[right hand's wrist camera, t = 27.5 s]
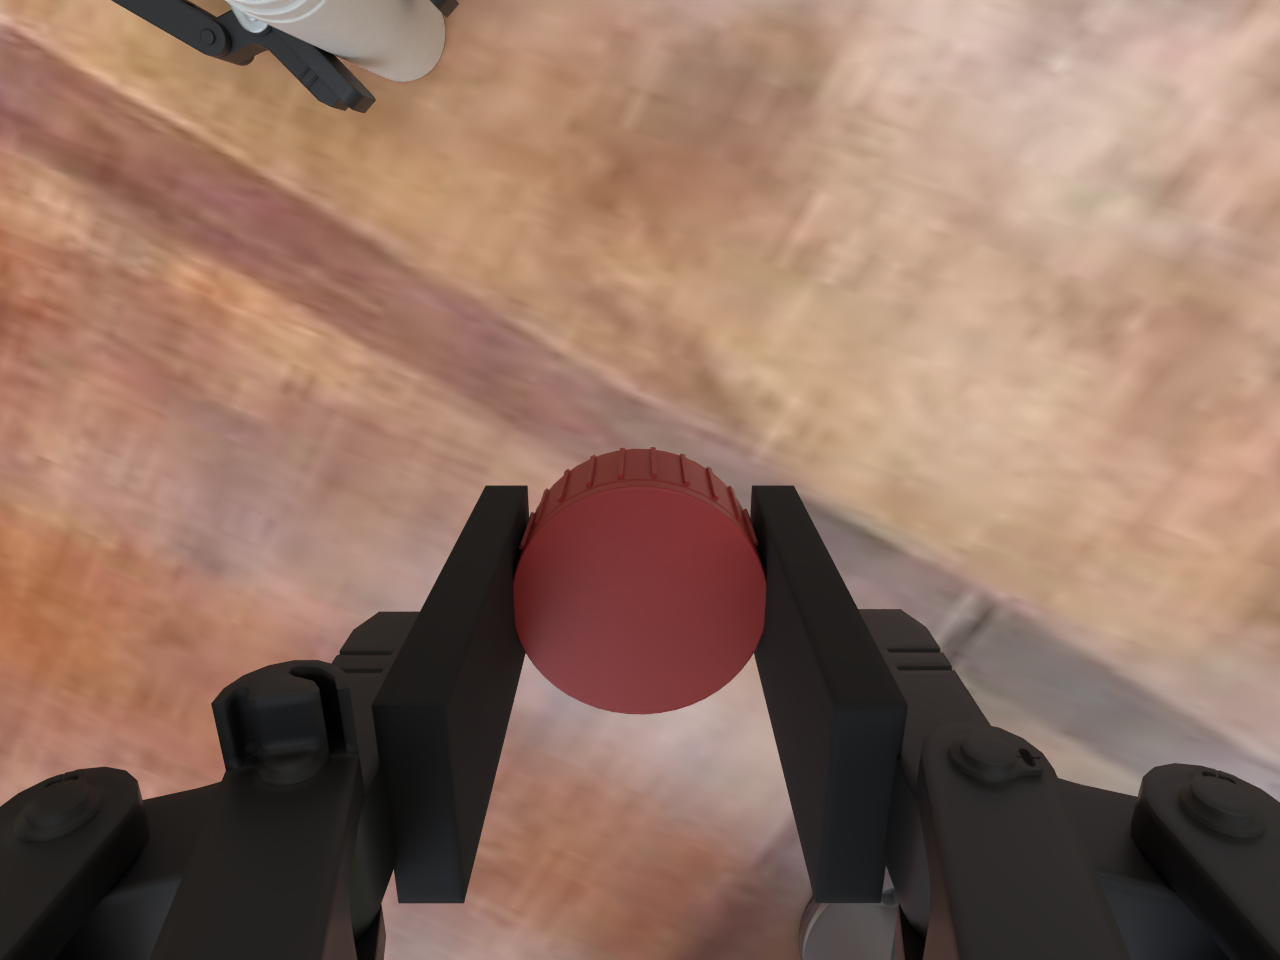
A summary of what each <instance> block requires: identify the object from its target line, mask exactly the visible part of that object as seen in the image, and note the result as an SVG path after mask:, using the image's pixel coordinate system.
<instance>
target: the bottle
mask: <svg viewBox="0 0 1280 960" xmlns="http://www.w3.org/2000/svg"><path fill="white" fill-rule="evenodd" d="M225 1H227V2H228V3H230V4H231V5H233V6H235V7H236V8H237V9H239V10H240V11H242V12H243V13H245V14H247V15H249V16H251V17H253V18H255V19H257V20H259V21H262V22H264V23H266V24H268V25H270V26H272V27H275V28H277V29H279V30H281V31H283V32H286V33H288V34H290V35H292V36H294V37H296V38H299V39H301V40H303V41H305V42H307V43H310V44H312V45H314V46H316V47H318V48H321V49H323V50H325V51H327V52H329V53H331V54H334V55H336V56H338V57H340V58H342V59H345V60H347V61H349V62H351V63H353V64H355V65H358V66H360V67H362V68H364V69H366V70H369V71H371V72H373V73H375V74H377V75H380V76H382V77H384V78H386V79H389V80H392V81H398V82H407V81H413V80H416V79H419V78H421V77H423V76H424V75H426V74H427V73H428V72H430V71H431V70H432V69H433V67H434V66H435V65H436V64H437V62H438V60H439V59H440V56H441V54H442V51H443V48H444V43H445V24H444V19H443V15H442V12H441V11H439V10H438V9H437V8H436V7H435V5H434V4H433V3H432V2H431V1H430V0H225Z"/></svg>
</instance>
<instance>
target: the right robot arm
mask: <svg viewBox="0 0 1280 960" xmlns="http://www.w3.org/2000/svg"><path fill="white" fill-rule="evenodd" d="M528 520H529V506H528V487H527V486H485V488H484V490H483V492H482V494H481V496H480V498H479V500H478V502H477V504H476V505H475V507H474V509H473V511H472V513H471V515H470V517H469V519H468V521H467V523H466V525H465V527H464V529H463V530H462V532H461V534H460V536H459V538H458V540H457V542H456V544H455V546H454V548H453V550H452V552H451V553H450V555H449V557H448V559H447V561H446V563H445V565H444V567H443V569H442V571H441V573H440V575H439V577H438V578H437V580H436V582H435V584H434V586H433V588H432V590H431V592H430V594H429V596H428V598H427V600H426V601H425V603H424V605H423V607H422V609H421V611H420V612H378V613H377V614H375V615H374V616H373V617H371V618H370V619H368V620H367V621H365V622H364V623H363V624H361V625H360V626H358V627H357V628H355V629H354V630H353V631H352V633H351V634H350V636H349V638H348V639H347V641H346V642H345V644H344V645H343V647H342V648H341V650H340V655H337V656H336V658H335V659H334V661H333V662H332V664H330V663H326V662H323V661H319V660H293V661H288V662H283V663H278V664H273V665H269V666H266V667H263V668H261V669H258V670H256V671H253V672H251V673H248V674H246V675H243V676H242V677H240V678H239V679H237V680H236V681H234V682H233V683H231V684H230V685H228V686H227V687H225V688H224V689H223V690H222V691H221V692H220V694H219V695H218V696H217V697H216V699H215V700H214V701H213V702H212V703H211V704H212V709H213V713H214V718H215V722H216V727H217V732H218V736H219V741H220V745H221V750H222V754H223V759H224V764H225V768H226V772H225V774H224V777H223V779H222V781H221V782H218V783H215V784H211V785H208V786H204V787H201V788H197V789H192V790H188V791H183V792H178V793H174V794H169V795H165V796H160V797H155V798H151V799H146V800H142V796H141V792H140V789H139V785H138V781H137V780H136V779H135V778H134V777H133V776H131V775H130V774H129V773H128V772H127V771H125V770H120V769H115V768H109V767H98V768H88V769H78V770H75V771H72V772H67V773H65V774H62V775H61V774H60V775H57V776H54V777H51V778H49V779H46V780H44V781H42V782H40V783H38V784H36V785H34V786H32V787H30V788H28V789H26V790H24V791H22V792H20V793H18V794H17V795H16V796H14V797H13V798H11V799H10V800H9V801H7V802H6V803H5V804H3V805H2V806H1V807H0V960H384V951H385V941H386V933H385V926H384V919H383V912H382V905H381V902H382V900H383V897H384V894H385V891H386V889H387V886H388V883H389V880H390V878H391V875H392V872H393V869H394V873H395V880H396V888H397V895H398V902H399V903H464V901H465V897H466V893H467V889H468V885H469V880H470V876H471V872H472V868H473V864H474V860H475V856H476V852H477V848H478V844H479V840H480V836H481V832H482V828H483V824H484V820H485V816H486V811H487V807H488V803H489V799H490V795H491V791H492V787H493V783H494V779H495V775H496V771H497V767H498V763H499V759H500V755H501V751H502V746H503V742H504V738H505V734H506V730H507V726H508V722H509V718H510V714H511V710H512V706H513V702H514V698H515V694H516V690H517V686H518V682H519V677H520V673H521V669H522V665H523V661H524V657H525V653H526V652H525V650H524V648H523V646H522V644H521V642H520V640H519V638H518V635H517V632H516V626H515V610H514V594H513V578H514V574H515V571H516V567H517V564H518V561H519V558H520V554H521V551H522V550H521V549H519V547H520V544H521V541H522V538H523V535H524V532H525V529H526V526H527V523H528ZM750 520H751V523H752V526H753V528H754V531H755V534H756V537H757V540H758V543H759V545H758V546H756V547H757V550H758V553H759V556H760V559H761V562H762V565H763V568H764V571H765V576H766V602H765V618H764V631H763V634H762V636H761V639H760V641H759V644H758V646H757V648H756V649H755V651H754V655H755V659H756V663H757V667H758V671H759V675H760V679H761V684H762V688H763V692H764V696H765V700H766V704H767V708H768V712H769V716H770V720H771V724H772V728H773V732H774V736H775V740H776V744H777V749H778V753H779V757H780V761H781V765H782V769H783V773H784V777H785V781H786V785H787V789H788V793H789V797H790V801H791V805H792V809H793V814H794V818H795V822H796V826H797V830H798V834H799V838H800V842H801V846H802V850H803V854H804V858H805V862H806V866H807V870H808V874H809V878H810V883H811V887H812V891H813V895H814V898H813V899H812V901H811V902H810V904H809V906H808V908H807V910H806V911H805V914H804V916H803V919H802V922H801V926H800V931H799V950H800V956H801V960H1280V802H1278V801H1277V800H1275V799H1274V798H1273V797H1271V796H1270V795H1269V794H1267V793H1266V792H1264V791H1263V790H1262V789H1260V788H1258V787H1256V786H1254V785H1252V784H1249V783H1247V782H1245V781H1243V780H1241V779H1239V778H1237V777H1235V776H1233V775H1231V774H1228V773H1225V772H1222V771H1217V770H1215V769H1211V768H1207V767H1204V766H1197V765H1187V764H1177V763H1174V764H1168V765H1163V766H1157V767H1154V768H1153V769H1152V770H1150V771H1149V772H1148V773H1147V774H1146V775H1145V776H1144V777H1143V779H1142V782H1141V786H1140V790H1139V794H1138V797H1136V796H1131V795H1126V794H1122V793H1117V792H1112V791H1108V790H1103V789H1098V788H1094V787H1089V786H1085V785H1080V784H1077V783H1073V782H1070V781H1066V780H1063V779H1060V778H1057V775H1056V773H1055V771H1054V769H1053V767H1052V766H1051V764H1050V763H1049V762H1048V760H1047V759H1046V757H1045V756H1044V754H1043V753H1042V752H1040V751H1039V750H1038V749H1036V748H1035V747H1034V746H1032V745H1031V744H1030V743H1029V742H1027V741H1026V740H1025V739H1023V738H1021V737H1019V736H1016V735H1014V734H1012V733H1010V732H1008V731H1005V730H1003V729H1001V728H998V727H993V726H991V725H990V724H989V722H988V721H987V719H986V718H985V716H984V715H983V713H982V711H981V710H980V708H979V707H978V705H977V704H976V702H975V701H974V699H973V698H972V696H971V695H970V693H969V692H968V690H967V689H966V687H965V686H964V684H963V682H962V681H961V679H960V678H959V676H958V675H957V673H956V672H955V670H952V666H951V664H950V663H949V661H948V660H947V658H946V657H945V655H944V654H943V653H940V647H939V646H938V644H937V643H936V641H935V640H934V638H933V637H932V635H931V634H930V632H929V631H928V629H927V628H926V627H925V626H924V625H922V624H921V623H919V622H918V621H917V620H915V619H914V618H912V617H911V616H909V615H908V614H907V613H905V612H904V611H902V610H901V609H858V608H857V606H856V604H855V603H854V601H853V599H852V597H851V595H850V593H849V591H848V589H847V587H846V585H845V583H844V581H843V579H842V578H841V576H840V574H839V572H838V570H837V568H836V566H835V564H834V562H833V560H832V558H831V556H830V555H829V553H828V551H827V549H826V547H825V545H824V543H823V541H822V539H821V537H820V535H819V533H818V531H817V530H816V528H815V526H814V524H813V522H812V520H811V518H810V516H809V514H808V512H807V510H806V508H805V507H804V505H803V503H802V501H801V499H800V497H799V495H798V493H797V491H796V489H795V487H794V486H752V496H751V516H750Z"/></svg>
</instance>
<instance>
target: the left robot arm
mask: <svg viewBox="0 0 1280 960" xmlns="http://www.w3.org/2000/svg"><path fill="white" fill-rule="evenodd" d="M112 1H114V2H115V3H117V4H119V5H120V6H122V7H124V8H126V9H127V10H129V11H131V12H133V13H134V14H136V15H138V16H139V17H141V18H143V19H145V20H146V21H148V22H150V23H152V24H153V25H155V26H157V27H159V28H160V29H162V30H164V31H165V32H167V33H169V34H171V35H172V36H174V37H176V38H178V39H179V40H181V41H183V42H185V43H186V44H188V45H190V46H191V47H193V48H195V49H197V50H198V51H200V52H202V53H204V54H206V55H209V56H212V57H215V58H218V59H221V60H224V61H227V62H230V63H233V64H237V65H240V66H244V65H248V64H249V63H251V62H252V60H253V59H254V56H255V55H257V54H259V53H261V52H263V51H266V50H270V51H271V52H272V53H273V54H274V55H275V56H276V57H277V59H278V60H279V61H280V62H281V63H282V64H283V65H284V66H285V67H286V68H287V69H288V70H289V71H290V72H291V73H292V74H293V75H294V76H295V77H296V78H297V79H298V80H299V81H300V82H301V83H302V84H303V85H304V86H305V87H306V88H307V89H308V90H309V91H310V92H311V93H312V94H313V95H314V96H315V97H316V98H317V99H318V100H319V101H320V102H323V103H325V104H327V105H329V106H331V107H333V108H337V109H340V110H344V111H346V109H347V108H348V107H349V108H351V109H352V110H355V111H358V112H362V113H365V112H366V111H367V110H368V109H369V108H370V106H371V105H372V104H373V103H374V102H375V101H376V99H375V98H374V96H373V95H372V94H371V93H370V92H369V91H368V90H367V89H366V88H365V87H364V85H363V84H362V83H361V82H360V81H359V80H358V79H357V78H356V77H355V76H354V75H353V74H352V73H351V72H350V71H349V70H348V69H347V68H346V67H345V66H344V65H343V64H342V62H341V61H340V60H339V59H338V58H337V57H336V56H335V55H334V54H331V53H329V52H327V51H325V50H323V49H321V48H318V47H316V46H314V45H312V44H310V43H307V42H305V41H303V40H301V39H299V38H296V37H294V36H292V35H290V34H288V33H286V32H283V31H281V30H279V29H277V28H275V27H272V26H270V25H268V24H266V23H264V22H262V21H259V20H257V19H255V18H253V17H251V16H249V15H247V14H245V13H243V12H242V11H240V10H239V9H237V8H236V7H235V6H233V5H231V4H230V3H228V4H229V6H230V7H231V9H232V10H230V11H228V12H226V13H225V14H223V15H221V16H219V17H216V16H214V15H212V14H210V13H209V12H207V11H205V10H204V9H202V8H200V7H198V6H197V5H195V4H193V3H192V2H190V1H188V0H112ZM430 1H431V2H432V3H433V4H434V5H435V7H436V8H437V9H438V10H439V11H441V12H442V13H443V14H444V15H445V16H446V17H448V16H449V15H450V14H451V13H452V12H453V10H454V9H455V8H456V7H457V6H458V5H459V3H458V2H457V1H456V0H430Z"/></svg>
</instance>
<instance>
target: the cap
mask: <svg viewBox="0 0 1280 960" xmlns="http://www.w3.org/2000/svg"><path fill="white" fill-rule="evenodd" d="M758 545H759V543H758V540H757V537H756V534H755V531H754V528H753V526H752V523H751V520H750V517H749V514H748V511H747V509H744V510H743V509H742V507H741V505H740V503H739V501H738V500H737V498H736V497H735V493H734V490H733V488H732V487H731V486H729V487H727V486H726V485H725V484H724V483H723V482H722V481H721V480H720V479H719V478H718V477H717V476H716V475H714V474H713V472H712V469H711V468H709V467H707V469H706V468H704V467H703V466H701V465H699V464H698V463H696V462H694V461H692V460H689V459H687V458H686V457H685V455H684V454H680V455H676V454H672V453H669V452H665V451H658V450H656V448H654V447H651V449H630V450H625V448H620V451H615V452H611V453H606V454H603V455H600V456H598V457H596V456H595V455H593V456H591V457H590V460H588V461H586V462H584V463H582V464H580V465H578V466H576V467H575V468H573V469H572V470H571V471H570V470H569V469H567V470H566V471H565V472H564V476H563V477H562V478H560V479H559V480H558V481H557V482H556V483H555V484H554V485H553V486H552V487H551V489H550V490H548V489H546V490H545V491H544V494H543V497H542V500H541V502H540V504H539V506H538V507H537V509H536V512H535V513H533V512H531V514H530V517H529V520H528V523H527V526H526V529H525V532H524V535H523V538H522V541H521V544H520V547H519V549H521V550H522V551H521V554H520V558H519V561H518V564H517V567H516V571H515V574H514V578H513V594H514V610H515V626H516V632H517V635H518V638H519V640H520V642H521V644H522V646H523V648H524V650H525V652H526V654H527V655H528V657H529V658H530V660H531V661H532V663H533V664H534V666H535V667H536V668H537V669H538V670H539V671H540V672H541V674H542V675H543V676H544V677H545V678H546V679H548V680H549V681H550V682H551V683H552V684H553V685H554V686H556V687H557V688H559V689H560V690H561V691H563V692H564V693H566V694H567V695H569V696H571V697H573V698H575V699H577V700H579V701H581V702H583V703H585V704H588V705H591V706H593V707H596V708H599V709H603V710H607V711H611V712H618V713H625V714H653V713H662V712H667V711H672V710H677V709H680V708H683V707H686V706H689V705H692V704H694V703H696V702H698V701H701V700H703V699H705V698H707V697H708V696H710V695H712V694H713V693H715V692H717V691H718V690H720V689H721V688H722V687H724V686H725V685H726V684H727V683H729V682H730V681H731V680H732V679H733V678H734V677H735V676H736V675H737V674H738V673H739V672H740V671H741V670H742V669H743V667H744V666H745V665H746V663H747V662H748V661H749V659H750V658H751V656H752V655H753V653H754V651H755V649H756V648H757V646H758V644H759V641H760V639H761V636H762V634H763V631H764V618H765V602H766V576H765V571H764V568H763V565H762V562H761V559H760V556H759V553H758V550H757V547H756V546H758Z"/></svg>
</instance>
